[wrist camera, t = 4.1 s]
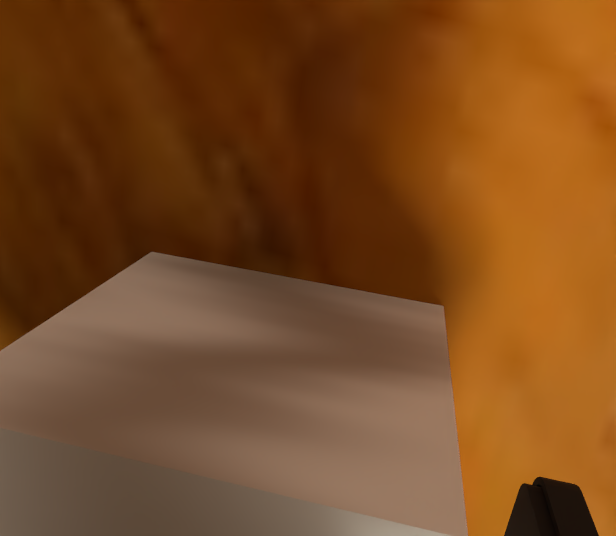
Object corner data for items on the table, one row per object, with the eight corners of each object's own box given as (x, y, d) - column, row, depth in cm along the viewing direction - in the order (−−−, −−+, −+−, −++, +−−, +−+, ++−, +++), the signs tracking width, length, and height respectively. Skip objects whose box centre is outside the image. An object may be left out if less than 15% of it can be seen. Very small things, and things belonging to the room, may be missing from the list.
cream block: (443, 304, 11) (467, 539, 5) (389, 541, 13) (367, 890, 7) (153, 250, 12) (-86, 406, 6) (144, 482, 14) (-41, 757, 8)
